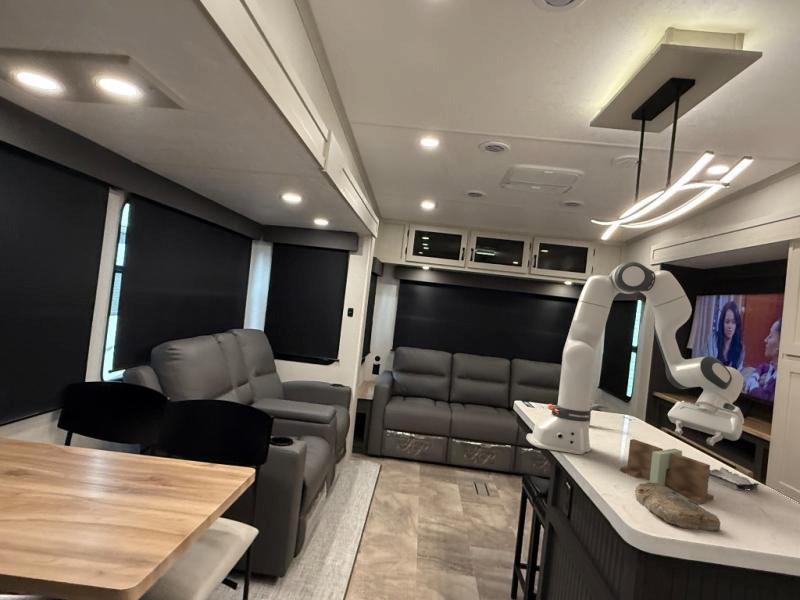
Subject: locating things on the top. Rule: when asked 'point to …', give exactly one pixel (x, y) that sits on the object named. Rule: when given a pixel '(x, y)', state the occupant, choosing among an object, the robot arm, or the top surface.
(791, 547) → the top surface
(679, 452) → the green slotted plate
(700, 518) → the brown rock
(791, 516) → the top surface
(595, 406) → the inkwell
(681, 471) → the walnut slotted board
